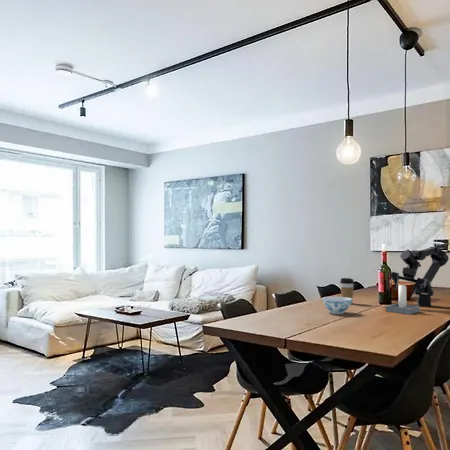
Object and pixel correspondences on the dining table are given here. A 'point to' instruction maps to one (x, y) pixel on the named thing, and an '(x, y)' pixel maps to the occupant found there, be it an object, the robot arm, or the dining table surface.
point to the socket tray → (402, 309)
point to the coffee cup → (347, 288)
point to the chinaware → (337, 304)
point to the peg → (402, 296)
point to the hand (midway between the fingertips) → (403, 292)
